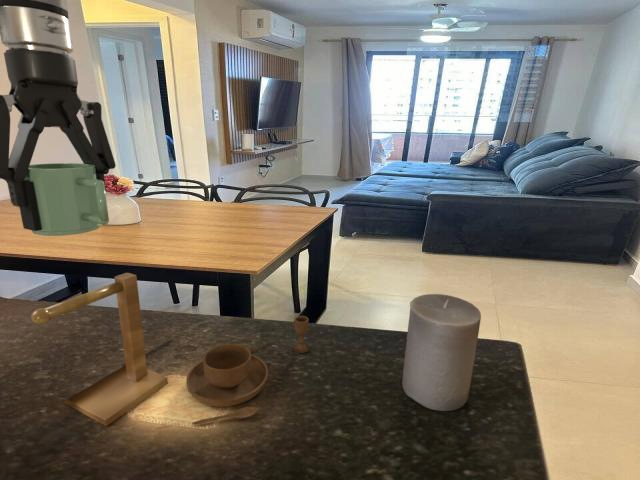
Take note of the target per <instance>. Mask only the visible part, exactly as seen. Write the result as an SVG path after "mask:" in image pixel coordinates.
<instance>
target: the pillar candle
mask: <svg viewBox="0 0 640 480" xmlns="http://www.w3.org/2000/svg"><path fill="white" fill-rule="evenodd" d="M409 307H410V308H409V314H408V315H409V317H408V326H407V334H406V343H405V352H404V362H403V370H402V379H401V381H402V383H401V385H402V389H403V391H404V393H405V395H407V396H408V397H409V398H410V399H412V400H413V401H415V402H416V403H418V405H419V404H420V405H421V406H423V407H424V408H427V409H429V410H433V411H437V412H450V411H455V410H459V409H461V408H462V407H463V406H465V404H466V403H467V402H468V401H469V397H470V396H469V395H470V389H471V383H472V378H473V372H474V367H475V366H474V365H475V360H476V359H475V358H476V351H477V347H478V340H479V333H480V327H481V322H482V321H481V319H482V314H481V311H480V309H479V308H478V307H477V306H475V305H474V304H473V303H471V302H469V301H467V300H465V299H463V298H460V297H457V296H453V295H448V294H442V293H428V294H427V293H426V294H421V295H418V296H416V297H414V298H413V299H412V300H411V301H409Z"/></svg>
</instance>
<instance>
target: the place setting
mask: <svg viewBox="0 0 640 480" xmlns="http://www.w3.org/2000/svg"><path fill="white" fill-rule="evenodd" d="M293 322H294V323H293V324H294V327H293V328H294V332H295V334H297V335H298V339H297V342H298V343H297V344H295V345H294V346H293V347H292V350H293V352H294V353H297V354H305V353H308V352H309V351H310V347H309V345H307V344H305V339H304V336H305V335H306V334H307V333H308V331H309V325H310V323H309V317H307V316H306V315H298V316H295V318H294V321H293ZM261 349H263V344H262V343H260V344H257V345H253V346H251V347H246V346H245V345H242V344H239V343H225V344H219V345H217V346H214V347H211V348H210V349H208V350H207V351H206V352H205V354H204V355H203V358H202V360H200V361H199V362H197V363H195V365H194V366H192V367H191V369H189V372H188V373H187V375H186V379H185V382H186V383H185V384H186V388H187V391H188V393H189V394H190V396H191V397H192V398H193V399H194V400H195V401H197V402H199V403H201V404H203V405H205V406H210V407H215V408H216V407H218V408H223V407H224V408H225V407H231V406H236V405H237V406H238V405H241V404H243V403H245V402H247V401H249V400H251V399H253V398H255V397H256V396H257V395H258V394H260V392H262V390H263V389H264V387H265V386H266V384H267V383H268V379H269V369H268V365H267V364H266V362H265V361H264V360H263V359H262V358H260V357H258V356H257V355H255V354H252V352H255V351H257V350H261ZM258 412H259V408H258V407H256V406H245V407H244V406H243V407H242V408H239V409H237V410H236V411H234V412H231V413H227V414H223V415H218V416H213V417H208V418H203V419H200V420H195V421H193V422H192V423H191V425H193V426H194V425H202V424H207V423H210V422H215V421H217V420H218V421H219V420H222V419H223V420H224V419H228V418H235V419H238V420H239V419H240V420H241V419H248V418H251V417H253V416H255V415H256V414H257V413H258Z"/></svg>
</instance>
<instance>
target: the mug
mask: <svg viewBox="0 0 640 480" xmlns="http://www.w3.org/2000/svg"><path fill="white" fill-rule="evenodd" d="M25 181H32V182H33V186H34V191H35V197H36V202H37V208H38V213H39V219H40V225H41V230H39V231H33V230H31V233H33V234H34V235H38V236H42V237H43V236H45V237H62V236H73V235H79V234H85V233H90V232H93V231H96V230H98V229H100V228H102V226H103V225H108V224H109V222H110V217H109V209H108V201H107V194H106V193H107V192H106V193H105V186H106V184H105V185H104V182H103V181H102V180H97V179H96V172H95V165H92V164H84V163H83V162H82V163H81V162H78V163H77V162H65V163H64V162H53V163H51V162H50V163H49V162H48V163H33V164H30V165H29V168H28V171H27V174H26V177H25Z"/></svg>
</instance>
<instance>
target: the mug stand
mask: <svg viewBox="0 0 640 480" xmlns="http://www.w3.org/2000/svg"><path fill="white" fill-rule="evenodd" d="M138 286H139V285H138V277H137V274H134V273H130V272H124V273H122V274H118V275H116V276H114V282H113V283H110V284H107V285H104V286H102V287H100V288H97V289H94V290H90V291H89V292H86V293H83V294H80V295H77V296H74V297H72V298H70V299H65V300H63V301H61V302H58V303H56V304H53V305H50V306H48V307H45V308H44V307H43V308H37V309H35V310H33V311H32V313H31V315H30V320H31V322H32V323H33V324H35V325H44V324H46V323H48V322H49V321H50V320H53V319H54V318H57V317H60V316H62V315H64V314H67V313H70V312H73V311H75V310H77V309H80V308H82V307H85V306H87V305H90V304H92V303H96V302H97V301H101V300H103V299H105V298H109V297H111V296H113V295H116V300H117V308H118V316H119V324H120V332H121V340H122V346H123V353H124V361H125V365H123V366H121V367H120V368H118V369H117V370H115V371H113V372H112V373H110V374H108V375H107V376H104V377H103V378H101V379H99V380H98V381H96V382H94V383H92V384H91V385H89V386H88V387H86V388H84V389H82V390H80V391H79V392H77V393H76V394H74V395H72V396H71V397H69V398H67V399H65V400H63V401H62V403H63V404H65V405H66V406H68V407H70V408H72V409H73V410H75V411H77V412H79V413H81V414H82V415H84V416H86V417H88V418H90V419H92V420H94V421H95V422H98V423H99V424H101V425H103V426H104V427H108V426H109V425H110V424H112V423H113V422H115V421H116V420H118V419H119V418H120V417H122V416H123V415H124V414H126V413H127V412H129V411H130V410H132V409H134V408H135V407H136V406H137V405H139V404H140V403H142V402H143V401H144V400H146V399H147V398H148V397H151V395H154V393H156V392H157V391H158V390H160V389H161V388H163V387H164V386H166V385H167V384H168V383H169V378H168V376H165V375H163V374H161V373H158V372H155V371H154V370H151V369H149V368H148V367H147V366H148V365H147V356H146V348H145V338H144V330H143V323H142V312H141V303H140V295H139V287H138Z"/></svg>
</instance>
